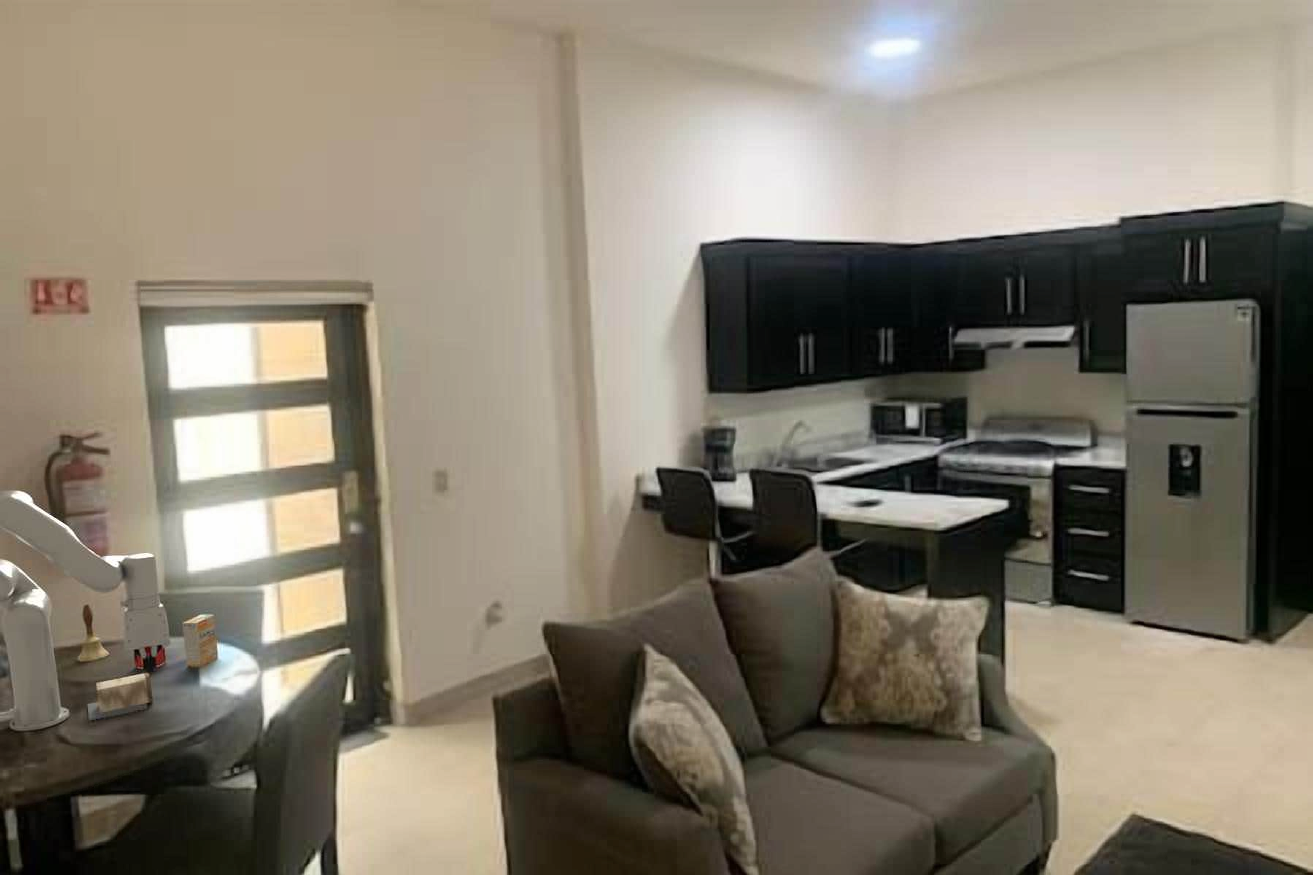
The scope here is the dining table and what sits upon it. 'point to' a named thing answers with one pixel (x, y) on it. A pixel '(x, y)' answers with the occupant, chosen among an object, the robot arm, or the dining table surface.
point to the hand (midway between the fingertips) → (150, 670)
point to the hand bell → (90, 640)
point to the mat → (95, 711)
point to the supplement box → (200, 640)
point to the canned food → (138, 660)
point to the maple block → (124, 692)
